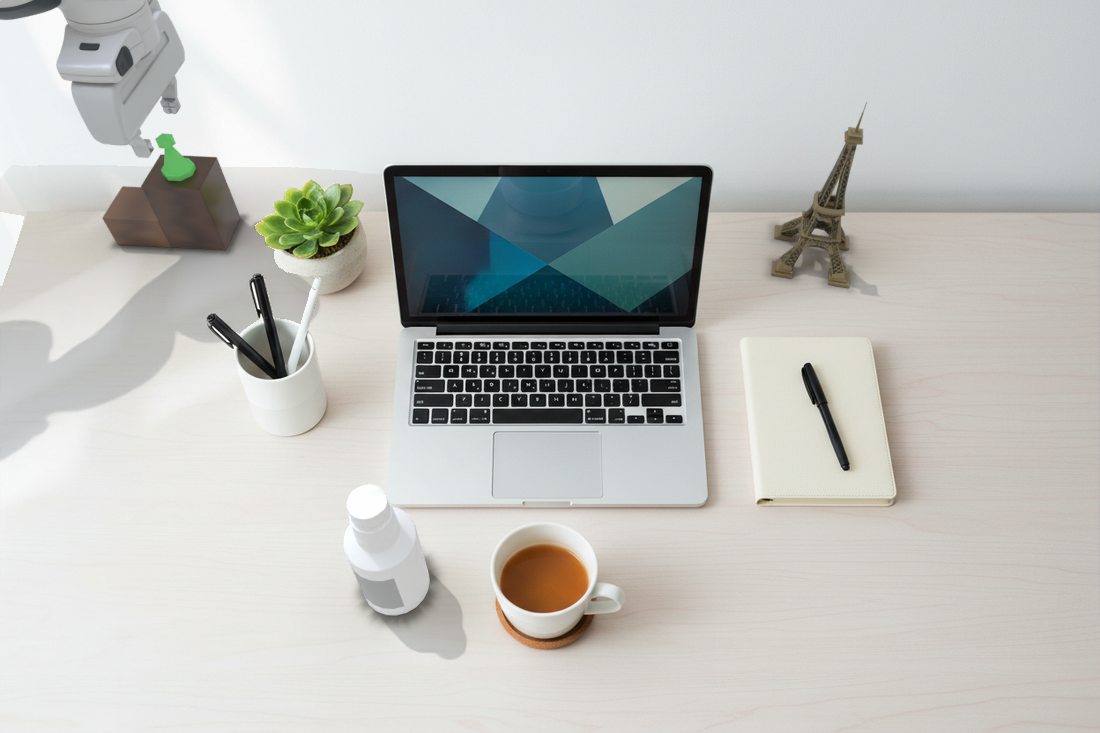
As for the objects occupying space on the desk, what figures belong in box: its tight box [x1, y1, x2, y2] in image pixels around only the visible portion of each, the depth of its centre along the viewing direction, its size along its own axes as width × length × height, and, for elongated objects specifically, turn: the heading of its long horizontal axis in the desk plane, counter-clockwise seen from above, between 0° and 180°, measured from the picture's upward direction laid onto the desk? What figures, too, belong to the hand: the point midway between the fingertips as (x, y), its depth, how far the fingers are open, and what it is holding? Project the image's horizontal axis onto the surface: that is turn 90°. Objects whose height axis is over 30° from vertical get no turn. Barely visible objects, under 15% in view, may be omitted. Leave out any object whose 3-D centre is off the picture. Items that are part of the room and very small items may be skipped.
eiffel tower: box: [770, 101, 868, 289], centre depth 102 cm, size 11×11×25 cm
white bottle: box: [342, 484, 431, 616], centre depth 74 cm, size 7×7×18 cm
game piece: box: [155, 132, 196, 181], centre depth 103 cm, size 4×4×6 cm
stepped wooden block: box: [102, 154, 242, 251], centre depth 110 cm, size 16×7×11 cm, turn 86°
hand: (160, 132), depth 101 cm, fingers open, 8 cm apart
